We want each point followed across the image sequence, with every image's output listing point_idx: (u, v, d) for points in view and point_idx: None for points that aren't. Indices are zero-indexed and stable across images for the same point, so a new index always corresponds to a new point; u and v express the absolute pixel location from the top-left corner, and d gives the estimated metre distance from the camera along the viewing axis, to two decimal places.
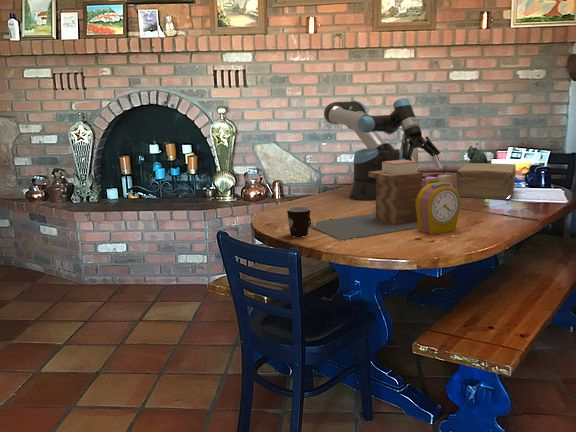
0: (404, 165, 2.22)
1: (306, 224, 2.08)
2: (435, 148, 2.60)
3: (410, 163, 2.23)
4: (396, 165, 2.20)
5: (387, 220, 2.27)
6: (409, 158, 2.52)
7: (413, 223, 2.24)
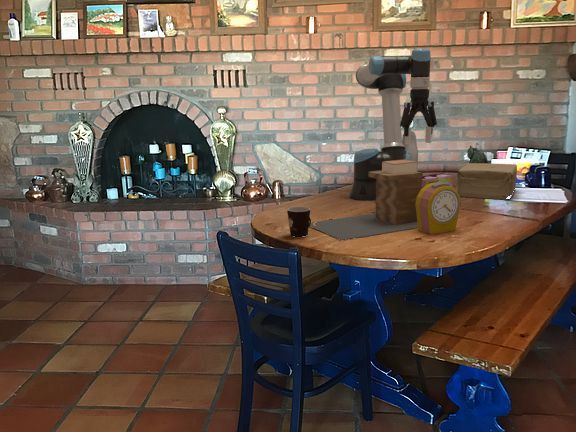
0: (404, 165, 2.22)
1: (306, 224, 2.08)
2: (434, 118, 2.35)
3: (410, 163, 2.23)
4: (396, 165, 2.20)
5: (387, 220, 2.27)
6: (406, 129, 2.31)
7: (413, 223, 2.24)
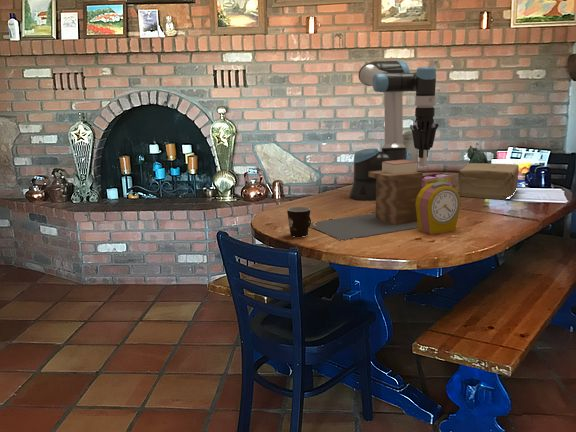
0: (404, 165, 2.22)
1: (306, 224, 2.08)
2: (432, 140, 2.29)
3: (410, 163, 2.23)
4: (396, 165, 2.20)
5: (387, 220, 2.27)
6: (421, 151, 2.28)
7: (413, 223, 2.24)
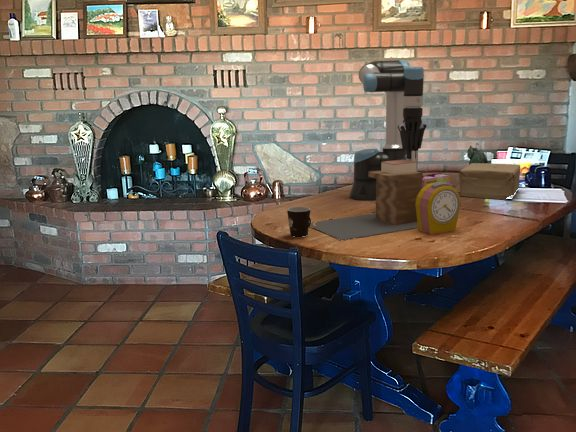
0: (403, 165, 2.22)
1: (306, 224, 2.08)
2: (420, 141, 2.27)
3: (409, 163, 2.23)
4: (395, 165, 2.20)
5: (387, 220, 2.27)
6: (409, 152, 2.26)
7: (413, 223, 2.24)
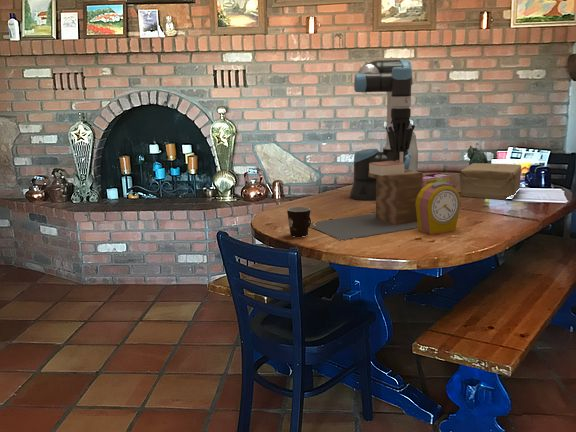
0: (391, 166, 2.19)
1: (306, 224, 2.08)
2: (409, 142, 2.24)
3: (397, 164, 2.20)
4: (383, 166, 2.17)
5: (387, 220, 2.27)
6: (397, 152, 2.23)
7: (413, 223, 2.24)
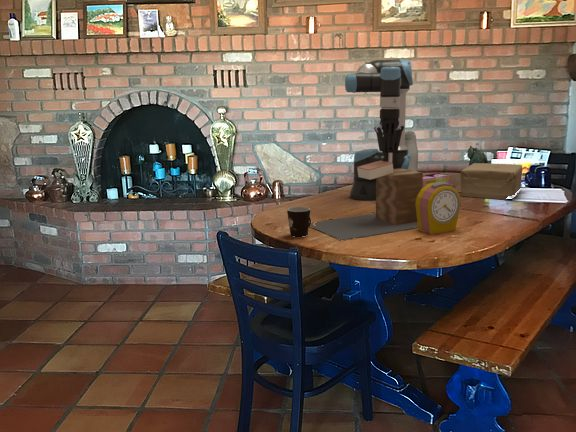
0: (379, 169, 2.16)
1: (306, 224, 2.08)
2: (398, 143, 2.22)
3: (385, 165, 2.17)
4: (371, 170, 2.15)
5: (387, 220, 2.27)
6: (386, 154, 2.21)
7: (413, 223, 2.24)
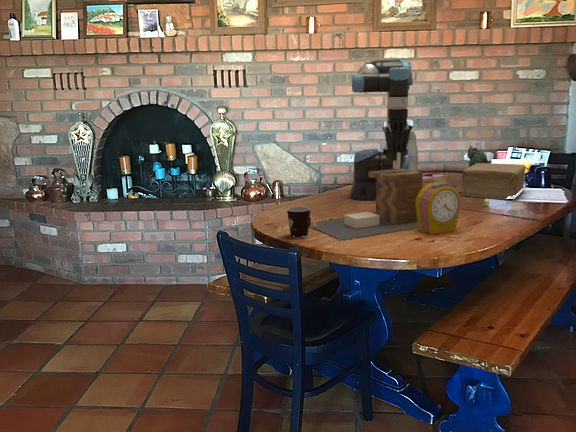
0: (369, 224, 2.19)
1: (306, 224, 2.08)
2: (406, 142, 2.24)
3: (362, 227, 2.18)
4: (377, 224, 2.21)
5: (387, 220, 2.27)
6: (394, 153, 2.23)
7: (413, 223, 2.24)
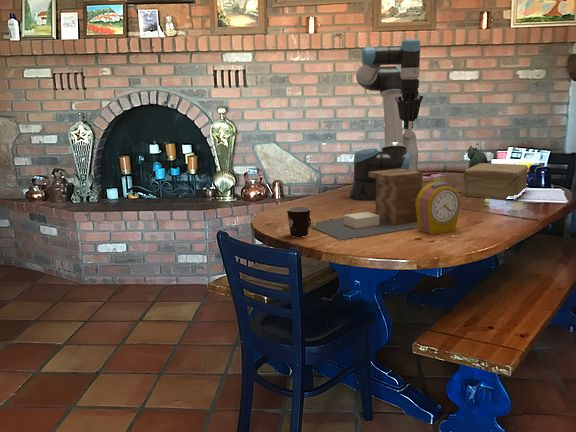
0: (369, 224, 2.19)
1: (306, 224, 2.08)
2: (417, 111, 2.36)
3: (362, 227, 2.18)
4: (377, 224, 2.21)
5: (387, 220, 2.27)
6: (406, 122, 2.35)
7: (413, 223, 2.24)
